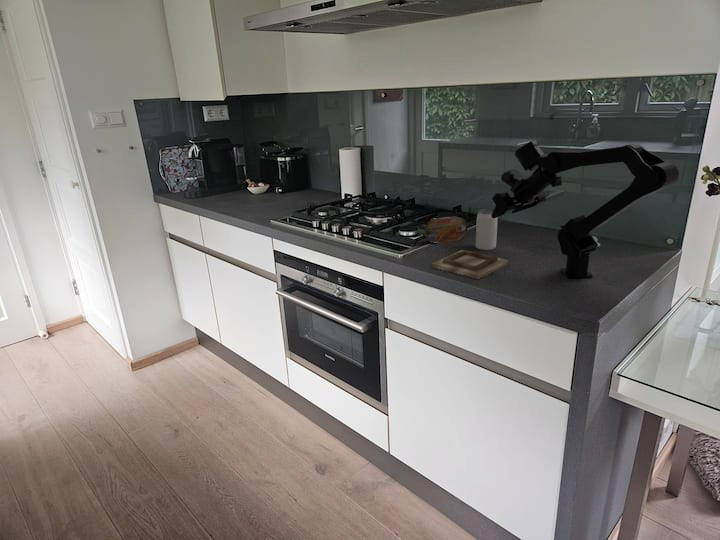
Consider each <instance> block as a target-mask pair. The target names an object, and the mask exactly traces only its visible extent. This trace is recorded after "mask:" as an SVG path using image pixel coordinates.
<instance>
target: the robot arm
mask: <svg viewBox="0 0 720 540" xmlns="http://www.w3.org/2000/svg"><path fill="white" fill-rule="evenodd" d="M514 157H515V158H516V159H517V161H518V162H519V164H520V166H521V167H522V168H523V170H524V171H529V172H532V173H531V174H530V175H529V176H528V177H527V176H526V175H525V174H523V173H522V172H521V171H520V170H518V169H515V168H512V169H508V170H506V171H504V172H503V173H502V174H501V177H500V180H501V182H503V183H504V184H505V185H508V186H509V187H510V189H509V190H510V191H511V193H513V196H512V197H511V196H510V193H509V192H508V191H500V192H499V191H498V192H496V193H494V195H493V196H492V197H491V200H492V202H493V203H494V204H495V206H494V209H493V210H494V211H493V213H492V215H491V217H492V218H493V219H494V218H497V217H498V218H499V217H502V216H506V215H509V214H511V213H512V214H516V213H519V212H522V211H526V210H528V209H531V208H535V207H538V206H540V205H542V204H544V203H545V202H546V199H547V196H546V194H545V190H546V189H548V188H549V187H550V185H551V187H552V188H558V187H560V186H562V184H563V183H562V182H563V180H562V178H563V177H562V176H560V175H559V174H560V173H564V172H568V171H572V170H576V169H579V168H581V167H588V166H596V165H607V164H616V163H624V165H626V167H627V169H628V170H629V171H630V172H631V174H632V176H634V178H633V179H632V181H631V183H630V184H629V185H628V186H627V188H625V189H624V190H623V191H621V192H620V193H618V194H617V195H615V196H614V197H612V198H611V199H610V200H609V201H607V202H605V203H604V204H603V205H602V206H600V207H598V209H597V208H596V210H594V211H593V212H591V213H590V214H589V215H588V216H586V215H585V214H582V215H578V216H576V217H573V218H571V219H569V221H567V222H566V223H565V224H564V225H560V229H559V230H558V232H557V240H558V243H559V247H560V250H561V254H562V255H565V256H566V259H565V267H561V268H560V269H559V271H560V272H561V273H563V275H565V276H566V277H567V278H568V279H579V278H580V279H582V278H593V274H592V273H591V272H589V264H590V256H591V253H593V252H595V251H596V250H597V248H598V247H597V246H598V244H597V243H598V242H597V243H596V241H595V240H594V239H593V237H592V236H594V235H595V234H596V232H597V231H598V229H599V228H601V227H602V226H603V225H605V224H607V223H608V222H610V221H611V220H612V219H614V218H615V217H617V216H618V215H620V214H621V213H623V212H624V211H626V210H627V209H629V208H631V207H632V206H633V205H634V204H636V203H638V202H639V201H641V200H642V199H644V198H646V197H649V196H650V195H653V194H656V193H658V192H660V191H662V190H665V189H667V188H669V187H671V186H673V185H674V184H676V183H677V181H678V180H679V176H680V173H679V169H678V166H677V165H675V164H674V163H672V162H668V161H666V160H665V159H663V158H661V157H660V156H659V155H656V154H654V153H653V152H651V151H649V150H648V149H646V148H645V147H644V146H642V145H641V144H639V143H631V144H626V145H622V146H614V147H607V148H600V149H591V150H579V149H562V150H556V151H552V152H549V153H547V154H545V153H544V152H543V150H542V149H541V148H540V146H539V144H538V142H537V141H536V139H534V140H530V141H529V142H528V143H526V144H524V145H522V146H521V147H519V148H518V149H516V151H515V152H514ZM498 218H497V219H498Z"/></svg>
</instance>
